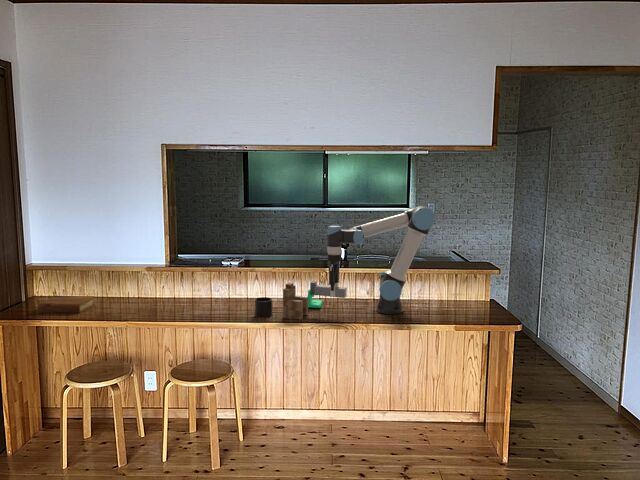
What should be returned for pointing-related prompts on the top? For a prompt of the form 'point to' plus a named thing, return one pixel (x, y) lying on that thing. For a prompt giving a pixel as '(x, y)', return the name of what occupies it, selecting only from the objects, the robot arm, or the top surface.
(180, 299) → the top surface
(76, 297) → the diary
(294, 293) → the brown wooden block stack
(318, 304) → the camera mount
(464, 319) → the top surface
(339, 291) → the rail
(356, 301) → the top surface
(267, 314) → the mug
